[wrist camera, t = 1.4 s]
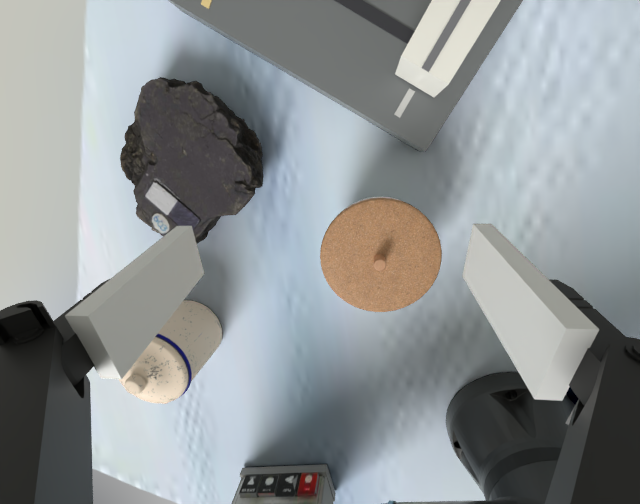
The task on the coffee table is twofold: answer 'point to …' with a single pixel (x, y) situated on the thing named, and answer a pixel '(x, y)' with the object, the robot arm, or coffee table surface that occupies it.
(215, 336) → the teacup with lid
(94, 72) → the coffee table surface
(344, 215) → the lidded jar
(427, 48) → the fader knob
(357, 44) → the fader console
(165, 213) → the rock sample
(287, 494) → the cassette tape recorder
